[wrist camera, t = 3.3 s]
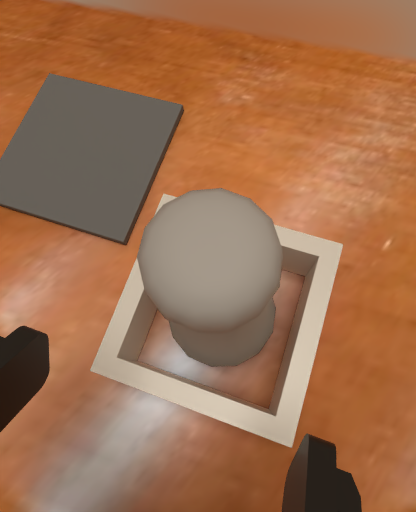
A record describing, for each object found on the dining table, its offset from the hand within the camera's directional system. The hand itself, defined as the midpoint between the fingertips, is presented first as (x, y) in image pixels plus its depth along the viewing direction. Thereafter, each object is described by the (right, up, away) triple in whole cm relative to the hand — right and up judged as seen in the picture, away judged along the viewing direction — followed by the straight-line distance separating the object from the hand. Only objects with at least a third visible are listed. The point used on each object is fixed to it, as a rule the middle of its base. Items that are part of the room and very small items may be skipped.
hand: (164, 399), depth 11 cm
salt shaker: (+2, 0, +12) cm, 12 cm away
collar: (+2, 0, +11) cm, 12 cm away
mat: (-7, +11, +16) cm, 21 cm away
